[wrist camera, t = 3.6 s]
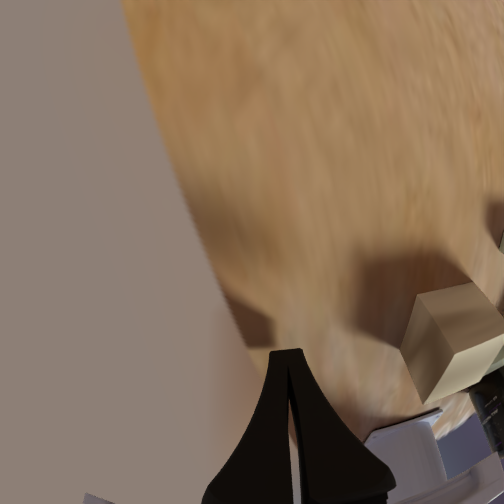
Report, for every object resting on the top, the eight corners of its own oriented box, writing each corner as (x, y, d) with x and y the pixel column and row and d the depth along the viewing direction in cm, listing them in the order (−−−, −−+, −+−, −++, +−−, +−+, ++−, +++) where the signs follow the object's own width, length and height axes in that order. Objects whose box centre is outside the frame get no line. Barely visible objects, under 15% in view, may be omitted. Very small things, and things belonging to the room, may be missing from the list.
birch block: (451, 333, 13) (479, 381, 9) (399, 348, 13) (423, 405, 10) (472, 280, 11) (512, 329, 7) (416, 293, 11) (454, 354, 8)
